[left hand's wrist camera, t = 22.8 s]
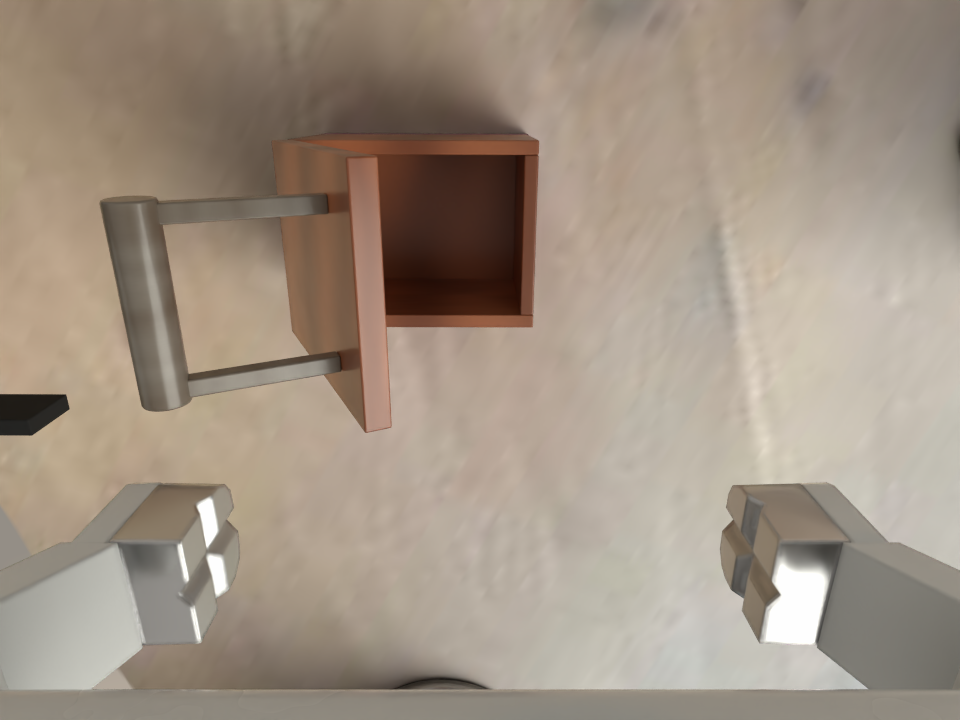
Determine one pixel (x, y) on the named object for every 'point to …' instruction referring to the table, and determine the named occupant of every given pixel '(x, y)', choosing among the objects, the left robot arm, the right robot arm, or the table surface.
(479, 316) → the chest
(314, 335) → the lid
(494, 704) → the left robot arm
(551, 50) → the table surface
